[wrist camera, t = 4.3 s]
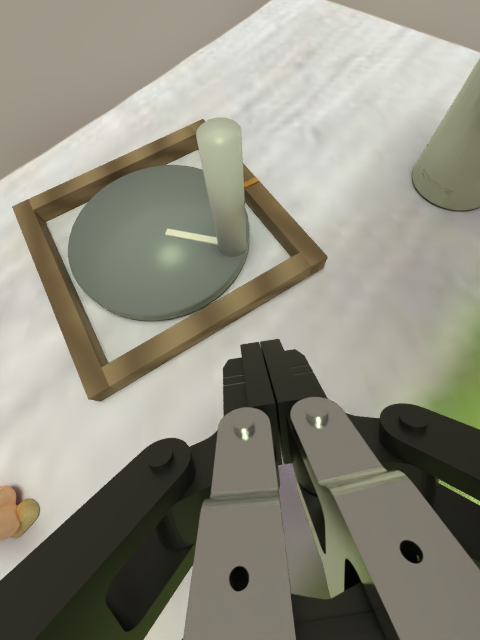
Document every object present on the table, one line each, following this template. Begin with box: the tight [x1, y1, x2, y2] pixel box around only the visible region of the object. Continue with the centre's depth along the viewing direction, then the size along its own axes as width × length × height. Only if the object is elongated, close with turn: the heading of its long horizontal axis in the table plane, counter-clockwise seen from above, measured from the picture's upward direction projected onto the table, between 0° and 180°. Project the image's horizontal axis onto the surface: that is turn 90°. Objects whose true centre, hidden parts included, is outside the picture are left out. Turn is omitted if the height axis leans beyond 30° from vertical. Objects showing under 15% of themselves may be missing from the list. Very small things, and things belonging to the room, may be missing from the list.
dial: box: [68, 118, 249, 321], centre depth 26 cm, size 20×20×14 cm
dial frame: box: [12, 119, 327, 401], centre depth 31 cm, size 26×26×2 cm
